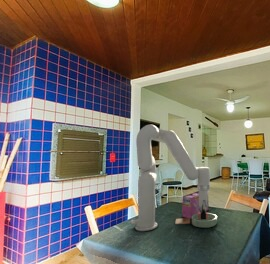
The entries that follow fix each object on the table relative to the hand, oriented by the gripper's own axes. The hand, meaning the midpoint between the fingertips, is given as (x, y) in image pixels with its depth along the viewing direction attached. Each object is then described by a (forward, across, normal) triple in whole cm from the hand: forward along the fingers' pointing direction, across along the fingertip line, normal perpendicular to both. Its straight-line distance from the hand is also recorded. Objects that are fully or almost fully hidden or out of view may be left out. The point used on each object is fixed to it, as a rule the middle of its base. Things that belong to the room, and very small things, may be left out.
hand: (203, 217), depth 121 cm
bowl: (+3, 0, +1) cm, 3 cm away
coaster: (+4, -5, -12) cm, 14 cm away
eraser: (0, 0, 0) cm, 0 cm away
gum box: (+4, -20, -3) cm, 21 cm away
